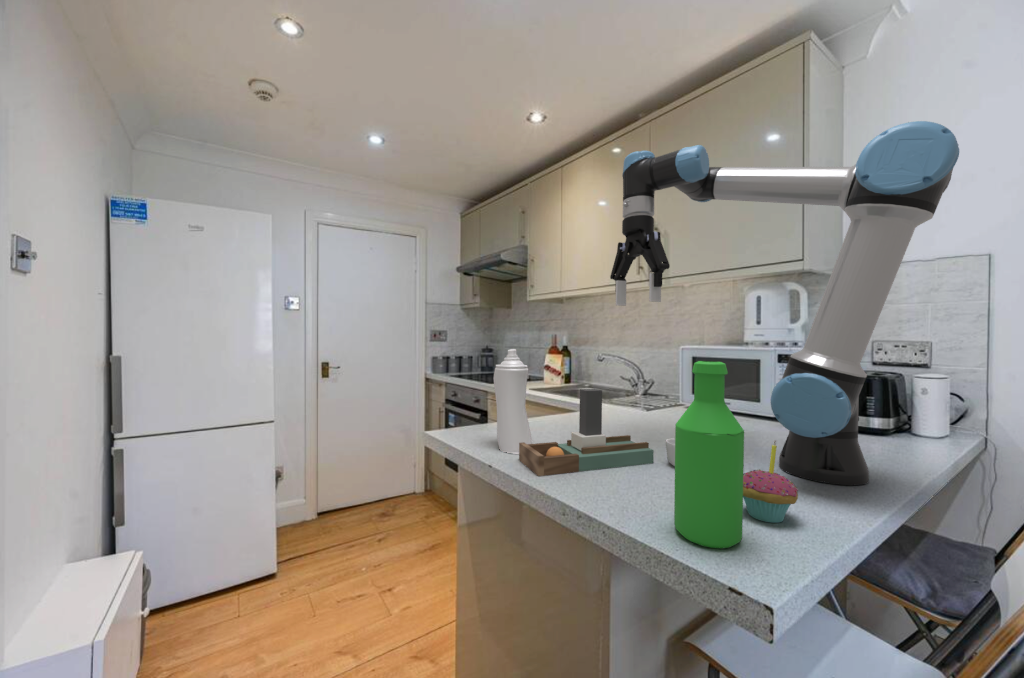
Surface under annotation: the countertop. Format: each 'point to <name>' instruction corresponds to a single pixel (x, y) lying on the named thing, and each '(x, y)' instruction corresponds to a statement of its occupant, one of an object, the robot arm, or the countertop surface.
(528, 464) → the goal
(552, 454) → the ball
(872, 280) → the robot arm
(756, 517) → the cupcake
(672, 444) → the teacup
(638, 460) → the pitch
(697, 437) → the bottle
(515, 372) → the spray can
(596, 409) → the block
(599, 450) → the rails
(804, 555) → the countertop surface
